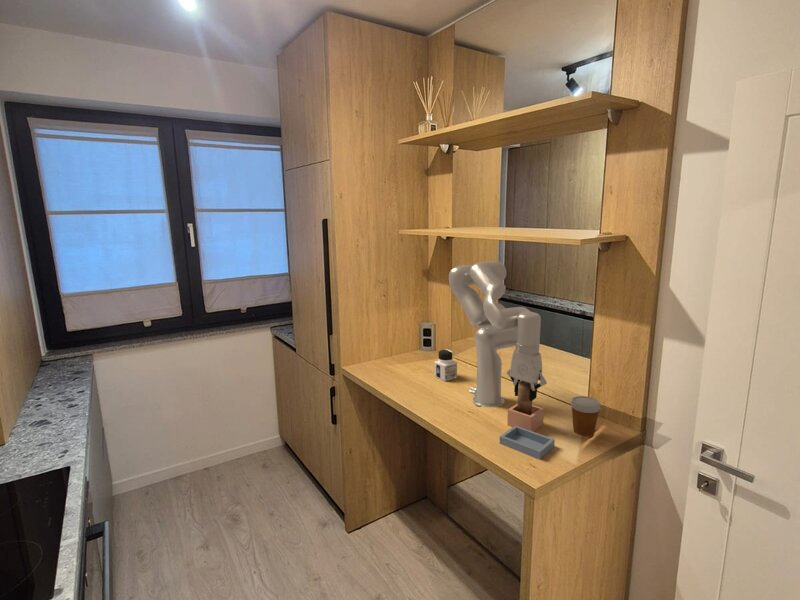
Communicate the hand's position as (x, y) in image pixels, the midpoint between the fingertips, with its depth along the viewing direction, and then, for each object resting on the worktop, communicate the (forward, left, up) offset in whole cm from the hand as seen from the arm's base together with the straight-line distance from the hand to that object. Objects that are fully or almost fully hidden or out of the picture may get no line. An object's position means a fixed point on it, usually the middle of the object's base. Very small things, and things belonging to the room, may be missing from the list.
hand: (525, 396), depth 151 cm
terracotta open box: (+1, 0, -11) cm, 11 cm away
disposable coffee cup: (+18, +9, -12) cm, 23 cm away
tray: (+8, -12, -11) cm, 18 cm away
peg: (0, 0, -7) cm, 7 cm away
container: (-50, +19, -12) cm, 55 cm away
